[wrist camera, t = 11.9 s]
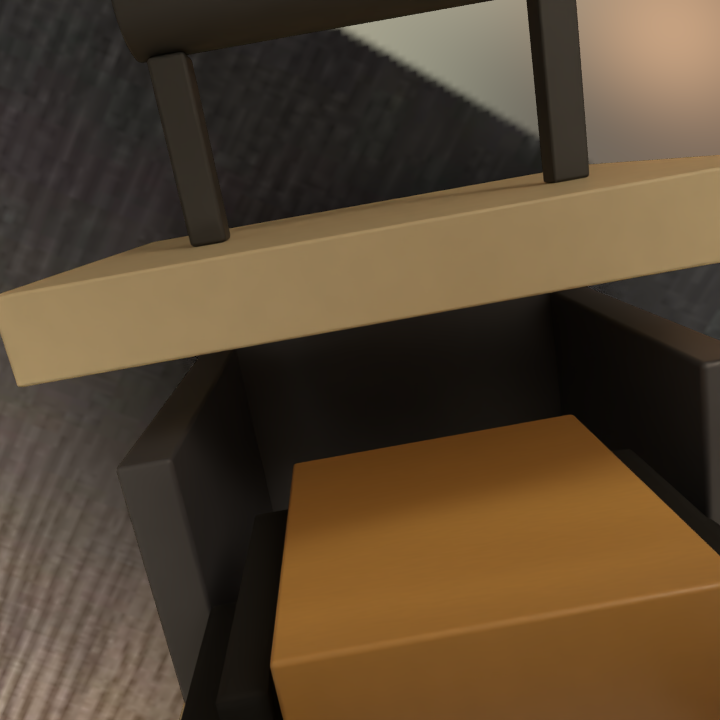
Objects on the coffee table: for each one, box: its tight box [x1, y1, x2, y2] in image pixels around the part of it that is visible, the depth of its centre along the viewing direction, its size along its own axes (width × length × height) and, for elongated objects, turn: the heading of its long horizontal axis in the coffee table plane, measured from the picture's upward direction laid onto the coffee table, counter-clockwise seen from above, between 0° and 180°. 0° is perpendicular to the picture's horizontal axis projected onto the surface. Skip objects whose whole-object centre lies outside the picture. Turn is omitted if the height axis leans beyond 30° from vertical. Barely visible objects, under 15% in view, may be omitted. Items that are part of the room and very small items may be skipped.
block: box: [270, 414, 720, 720], centre depth 9 cm, size 4×4×4 cm
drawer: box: [0, 0, 720, 703], centre depth 13 cm, size 17×11×8 cm, turn 10°
